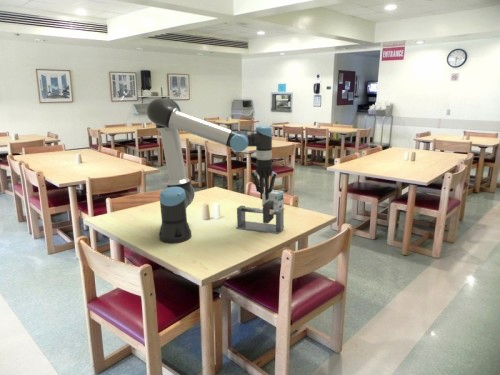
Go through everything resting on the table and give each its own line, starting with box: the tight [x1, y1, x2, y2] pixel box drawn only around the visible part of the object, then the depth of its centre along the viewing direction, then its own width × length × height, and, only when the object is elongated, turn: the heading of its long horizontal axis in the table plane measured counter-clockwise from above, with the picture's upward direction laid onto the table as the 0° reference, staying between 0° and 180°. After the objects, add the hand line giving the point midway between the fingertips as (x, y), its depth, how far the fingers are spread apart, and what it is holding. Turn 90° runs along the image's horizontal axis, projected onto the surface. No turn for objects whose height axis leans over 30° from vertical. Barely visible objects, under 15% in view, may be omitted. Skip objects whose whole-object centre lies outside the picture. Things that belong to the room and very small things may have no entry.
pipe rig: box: [236, 205, 285, 235], centre depth 187 cm, size 23×10×10 cm, turn 68°
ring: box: [262, 200, 275, 224], centre depth 184 cm, size 2×9×9 cm, turn 158°
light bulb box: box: [264, 189, 285, 210], centre depth 218 cm, size 11×7×11 cm, turn 58°
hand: (264, 205), depth 184 cm, fingers closed
